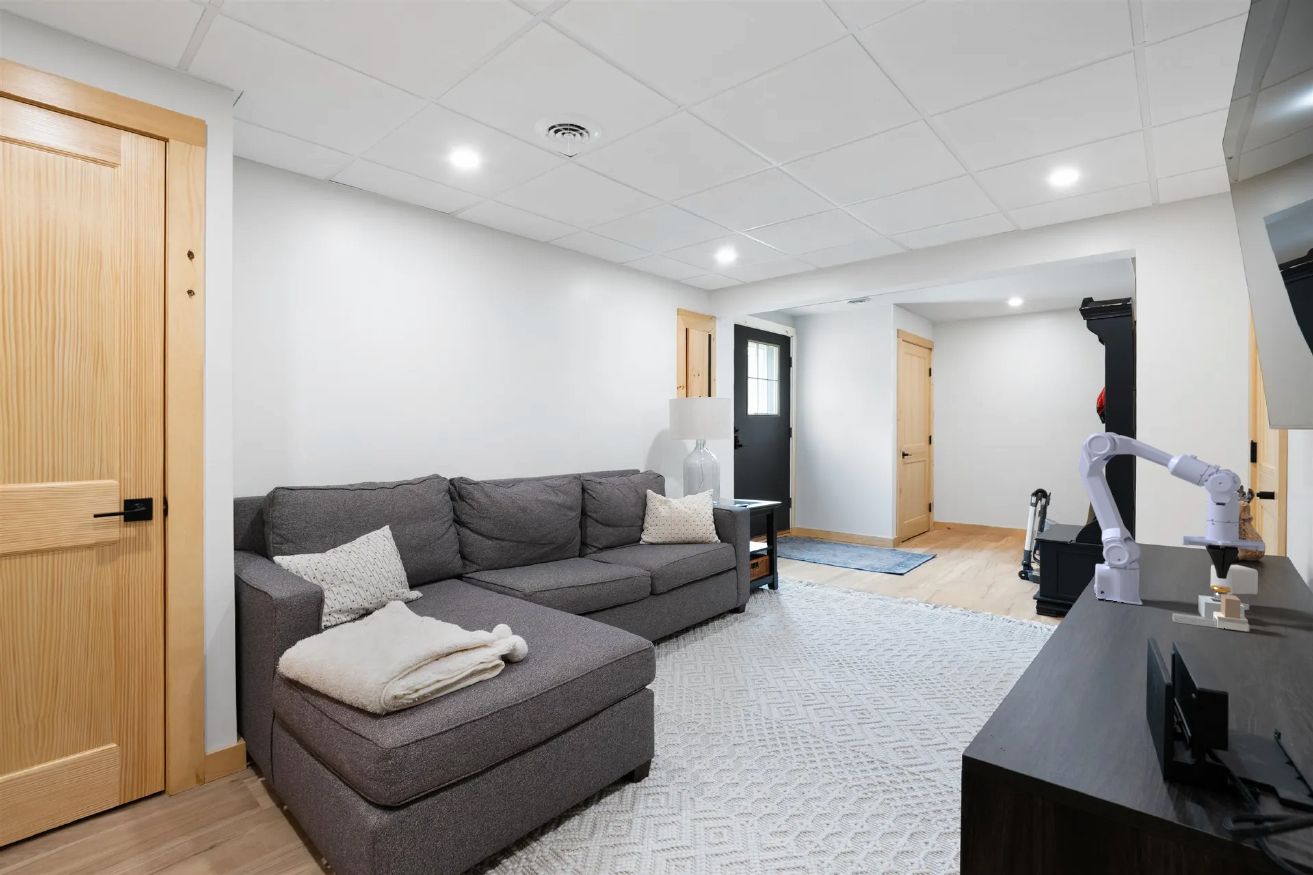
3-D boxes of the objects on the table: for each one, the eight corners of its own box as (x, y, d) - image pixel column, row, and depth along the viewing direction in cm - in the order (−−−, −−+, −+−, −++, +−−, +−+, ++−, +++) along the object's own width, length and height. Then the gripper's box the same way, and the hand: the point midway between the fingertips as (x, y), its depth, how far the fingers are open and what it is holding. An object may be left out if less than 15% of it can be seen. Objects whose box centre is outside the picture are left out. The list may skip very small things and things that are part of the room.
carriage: (1217, 627, 140) (1218, 597, 140) (1213, 622, 144) (1213, 593, 144) (1247, 631, 138) (1248, 601, 138) (1242, 625, 142) (1242, 596, 141)
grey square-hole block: (1204, 618, 148) (1204, 602, 147) (1198, 611, 153) (1198, 594, 153) (1244, 623, 144) (1244, 606, 144) (1236, 615, 150) (1236, 599, 150)
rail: (1174, 622, 145) (1174, 615, 145) (1172, 619, 147) (1172, 612, 147) (1249, 631, 138) (1249, 625, 138) (1246, 628, 140) (1246, 622, 140)
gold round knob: (1212, 606, 148) (1213, 587, 148) (1209, 602, 151) (1209, 584, 151) (1231, 608, 146) (1232, 589, 146) (1228, 604, 149) (1228, 586, 149)
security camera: (1257, 610, 154) (1258, 570, 154) (1228, 610, 154) (1229, 570, 154) (1234, 602, 160) (1235, 564, 160) (1206, 602, 161) (1207, 564, 160)
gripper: (1186, 520, 148) (1185, 577, 149) (1269, 525, 141) (1268, 585, 141) (1180, 516, 154) (1179, 571, 155) (1260, 521, 147) (1259, 578, 147)
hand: (1221, 577), depth 148 cm, fingers closed
